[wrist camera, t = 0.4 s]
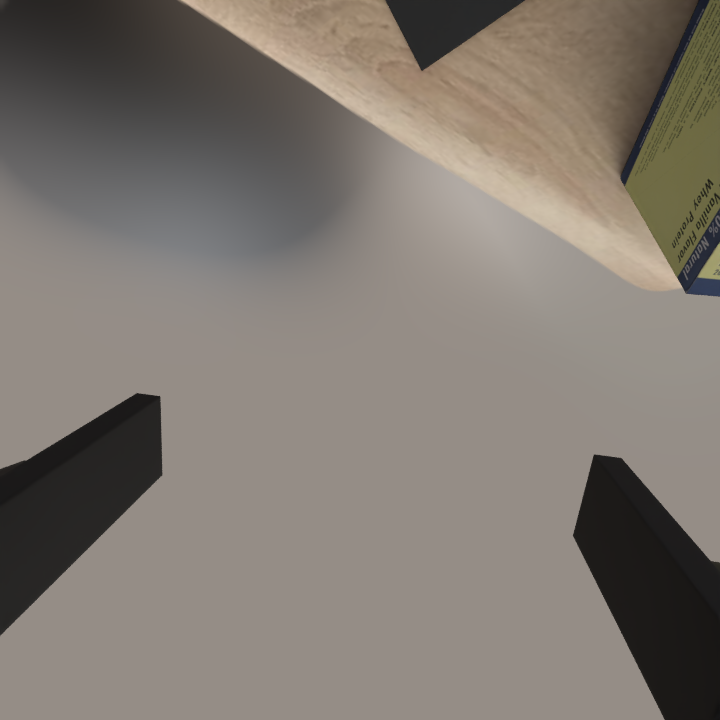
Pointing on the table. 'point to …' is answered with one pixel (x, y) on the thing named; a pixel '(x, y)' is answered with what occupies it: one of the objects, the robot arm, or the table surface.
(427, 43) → the rubber mat
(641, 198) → the protein box
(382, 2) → the table surface
